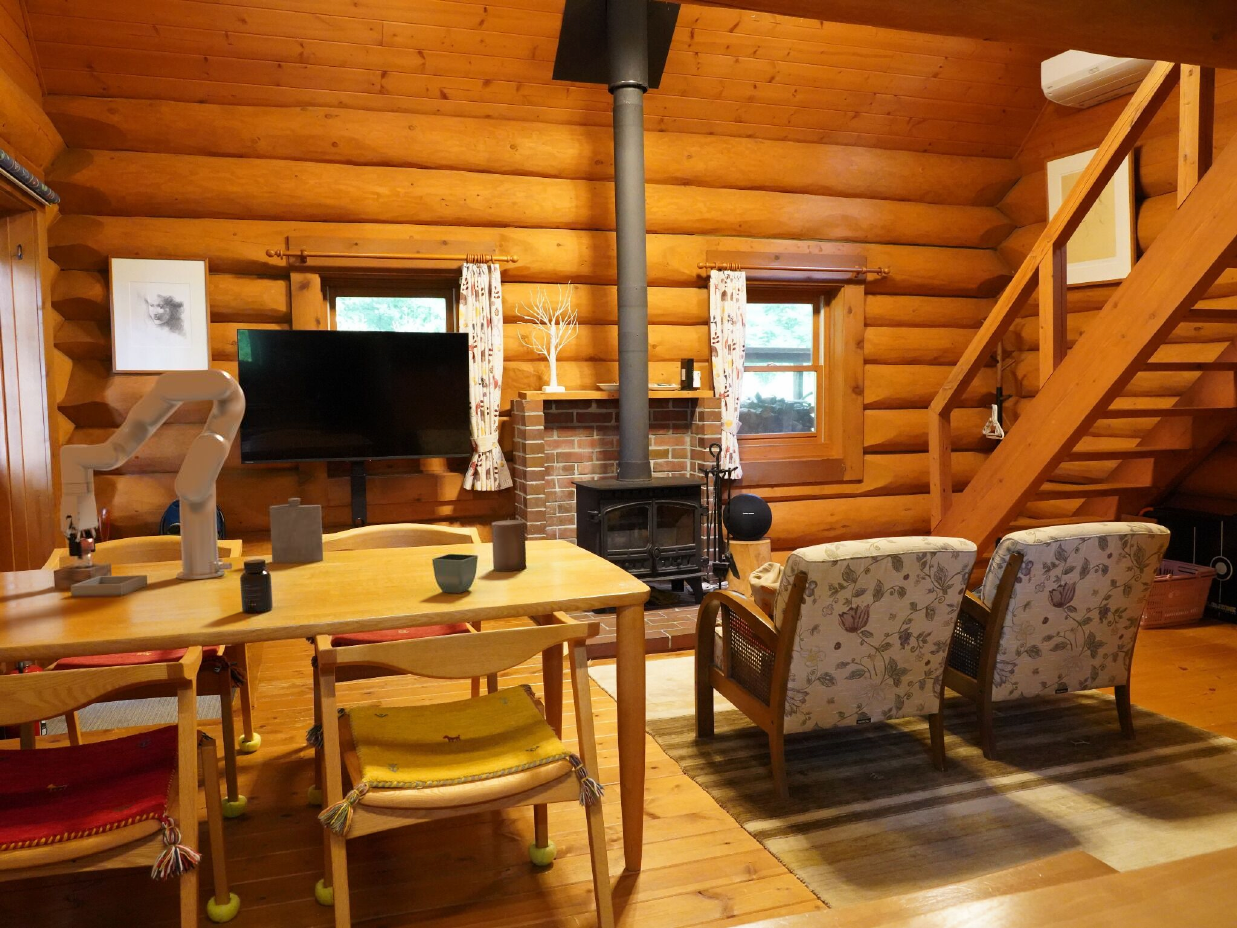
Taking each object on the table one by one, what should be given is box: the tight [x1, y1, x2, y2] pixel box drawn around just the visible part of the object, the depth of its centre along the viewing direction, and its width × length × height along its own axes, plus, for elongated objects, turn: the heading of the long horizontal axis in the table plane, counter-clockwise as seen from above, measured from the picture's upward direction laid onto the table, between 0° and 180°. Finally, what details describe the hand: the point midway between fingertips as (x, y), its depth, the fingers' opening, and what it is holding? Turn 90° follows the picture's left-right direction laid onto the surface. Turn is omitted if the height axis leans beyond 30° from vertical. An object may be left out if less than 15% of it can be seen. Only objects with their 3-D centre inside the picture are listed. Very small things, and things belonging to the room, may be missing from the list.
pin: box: [73, 537, 94, 569], centre depth 249 cm, size 6×6×11 cm
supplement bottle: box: [239, 558, 273, 615], centre depth 212 cm, size 7×7×12 cm
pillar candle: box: [491, 517, 527, 572], centre depth 261 cm, size 10×10×15 cm
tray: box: [70, 574, 148, 598], centre depth 239 cm, size 13×13×3 cm
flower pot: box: [431, 553, 479, 594], centre depth 230 cm, size 9×9×9 cm
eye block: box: [53, 563, 113, 590], centre depth 249 cm, size 10×10×5 cm
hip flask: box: [269, 497, 324, 564], centre depth 281 cm, size 16×4×20 cm, turn 89°
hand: (82, 553), depth 249 cm, fingers closed on pin, 5 cm apart
